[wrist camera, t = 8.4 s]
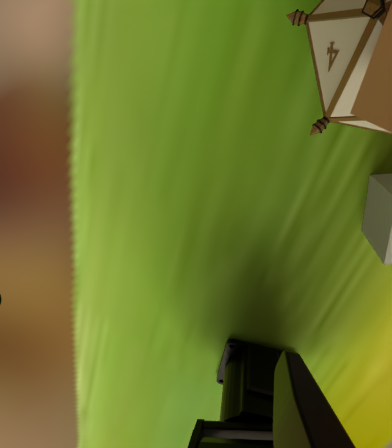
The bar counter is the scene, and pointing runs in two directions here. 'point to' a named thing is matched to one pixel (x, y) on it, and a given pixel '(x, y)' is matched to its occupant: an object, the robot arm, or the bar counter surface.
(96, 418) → the bar counter surface
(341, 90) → the game die
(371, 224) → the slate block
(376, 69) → the terracotta block
